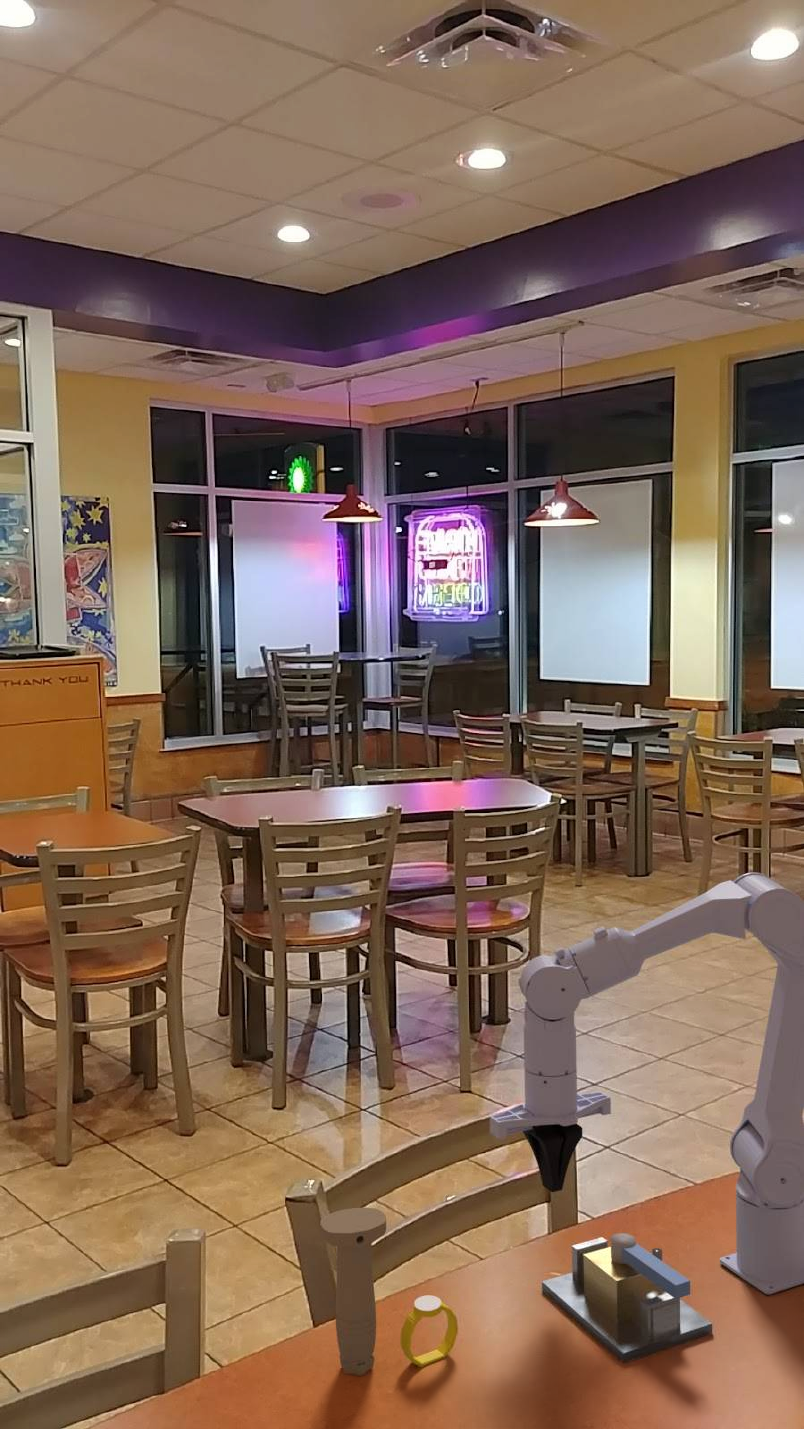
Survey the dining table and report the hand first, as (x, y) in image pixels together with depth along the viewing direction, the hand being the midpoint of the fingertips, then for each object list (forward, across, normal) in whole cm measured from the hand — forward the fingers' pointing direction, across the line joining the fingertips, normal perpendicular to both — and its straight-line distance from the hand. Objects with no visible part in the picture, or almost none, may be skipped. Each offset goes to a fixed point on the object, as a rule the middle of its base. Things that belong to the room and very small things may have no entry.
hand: (552, 1187), depth 135 cm
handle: (+11, -26, -5) cm, 29 cm away
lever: (+5, +3, -13) cm, 14 cm away
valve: (+10, +3, -9) cm, 14 cm away
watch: (+11, -19, -7) cm, 23 cm away
